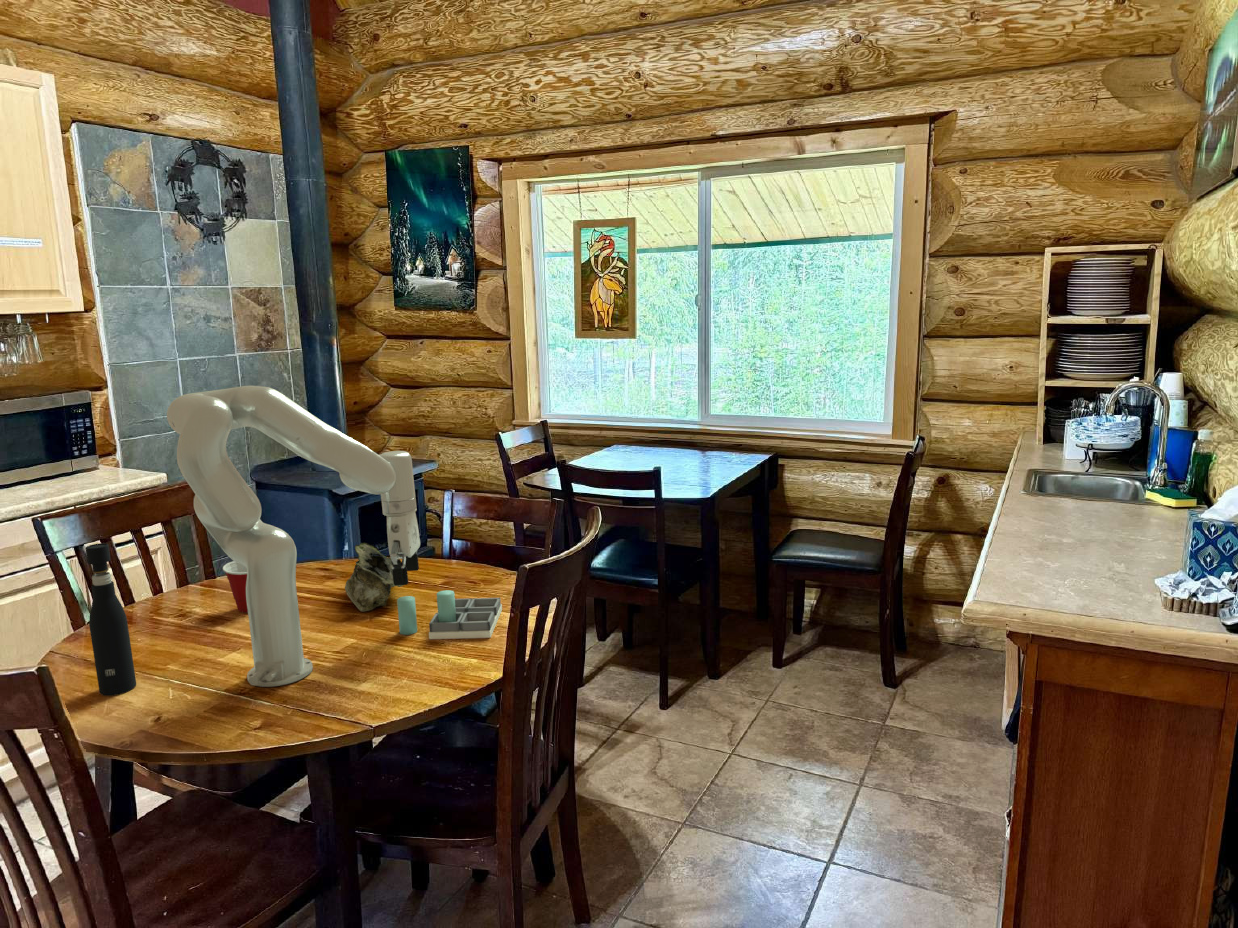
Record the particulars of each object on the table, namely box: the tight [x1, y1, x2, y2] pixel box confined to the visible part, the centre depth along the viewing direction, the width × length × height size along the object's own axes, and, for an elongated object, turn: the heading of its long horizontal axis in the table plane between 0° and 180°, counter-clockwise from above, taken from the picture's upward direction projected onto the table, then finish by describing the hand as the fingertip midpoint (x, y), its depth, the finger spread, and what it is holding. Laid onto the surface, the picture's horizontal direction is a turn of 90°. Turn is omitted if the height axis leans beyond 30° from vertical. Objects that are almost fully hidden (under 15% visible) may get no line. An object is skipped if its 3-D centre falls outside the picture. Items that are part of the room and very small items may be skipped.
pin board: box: [428, 589, 503, 640], centre depth 196 cm, size 18×14×10 cm
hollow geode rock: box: [344, 542, 404, 613], centre depth 218 cm, size 28×13×15 cm
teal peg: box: [396, 595, 418, 636], centre depth 193 cm, size 4×4×8 cm
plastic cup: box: [222, 560, 248, 614], centre depth 211 cm, size 11×11×12 cm
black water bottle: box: [84, 542, 137, 697], centre depth 165 cm, size 6×6×30 cm
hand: (406, 577), depth 192 cm, fingers open, 9 cm apart
